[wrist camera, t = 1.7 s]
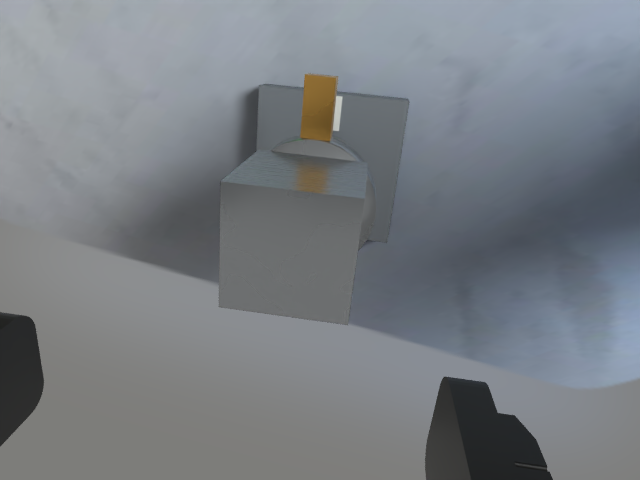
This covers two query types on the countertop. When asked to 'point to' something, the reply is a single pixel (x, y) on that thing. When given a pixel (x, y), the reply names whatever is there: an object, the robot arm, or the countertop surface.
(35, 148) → the countertop surface
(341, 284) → the collar
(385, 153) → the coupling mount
